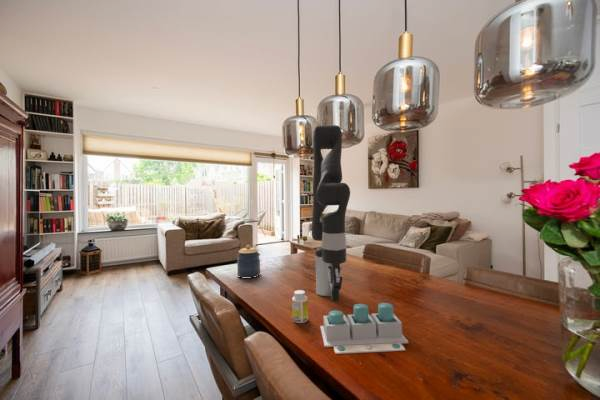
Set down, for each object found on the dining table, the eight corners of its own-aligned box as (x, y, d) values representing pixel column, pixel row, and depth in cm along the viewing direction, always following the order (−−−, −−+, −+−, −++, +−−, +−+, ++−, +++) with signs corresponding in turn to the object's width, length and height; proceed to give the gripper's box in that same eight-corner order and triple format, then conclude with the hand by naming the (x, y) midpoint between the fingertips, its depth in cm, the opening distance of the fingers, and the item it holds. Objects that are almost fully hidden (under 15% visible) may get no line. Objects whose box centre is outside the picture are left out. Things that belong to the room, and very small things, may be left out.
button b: (352, 322, 88) (351, 304, 88) (366, 321, 88) (365, 303, 88) (355, 329, 84) (355, 310, 83) (370, 328, 84) (370, 309, 84)
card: (333, 347, 79) (333, 345, 79) (400, 344, 80) (400, 342, 80) (335, 353, 76) (335, 351, 76) (405, 350, 77) (405, 348, 77)
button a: (328, 329, 88) (327, 310, 88) (342, 328, 88) (341, 310, 88) (330, 336, 83) (329, 317, 83) (345, 335, 83) (344, 316, 83)
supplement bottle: (307, 316, 100) (306, 288, 100) (309, 323, 95) (308, 294, 95) (292, 317, 100) (291, 289, 100) (293, 324, 94) (292, 295, 94)
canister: (233, 278, 150) (232, 246, 150) (244, 271, 162) (243, 242, 162) (254, 279, 146) (253, 247, 146) (264, 273, 158) (263, 243, 158)
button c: (376, 321, 88) (376, 303, 88) (390, 320, 89) (390, 302, 88) (381, 328, 84) (381, 308, 84) (396, 327, 84) (395, 308, 84)
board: (320, 327, 91) (319, 312, 91) (393, 324, 92) (392, 309, 92) (324, 347, 79) (324, 330, 79) (408, 343, 80) (408, 326, 80)
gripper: (319, 242, 92) (321, 293, 92) (324, 251, 78) (326, 310, 79) (341, 242, 92) (342, 292, 92) (350, 250, 79) (351, 309, 79)
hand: (335, 300), depth 86 cm, fingers closed
